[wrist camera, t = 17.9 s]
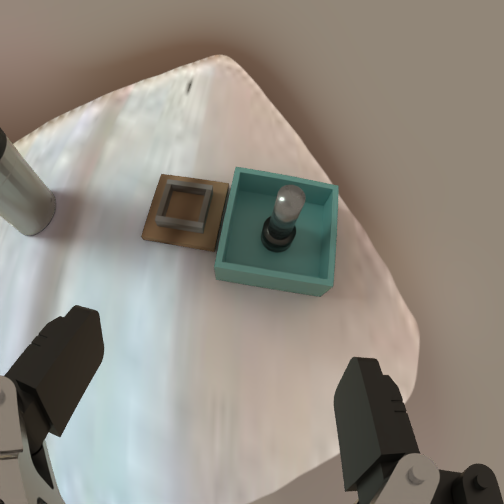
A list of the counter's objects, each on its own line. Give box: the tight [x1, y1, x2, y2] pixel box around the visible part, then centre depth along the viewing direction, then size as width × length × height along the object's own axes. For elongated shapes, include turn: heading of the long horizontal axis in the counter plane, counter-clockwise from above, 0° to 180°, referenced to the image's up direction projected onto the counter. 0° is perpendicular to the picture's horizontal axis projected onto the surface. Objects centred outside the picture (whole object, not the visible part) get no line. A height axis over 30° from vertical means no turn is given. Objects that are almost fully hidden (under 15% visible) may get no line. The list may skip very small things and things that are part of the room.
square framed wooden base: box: [141, 174, 229, 252], centre depth 46 cm, size 11×11×3 cm
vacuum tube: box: [261, 185, 306, 253], centre depth 41 cm, size 5×5×12 cm
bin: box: [214, 167, 338, 297], centre depth 45 cm, size 15×15×6 cm
